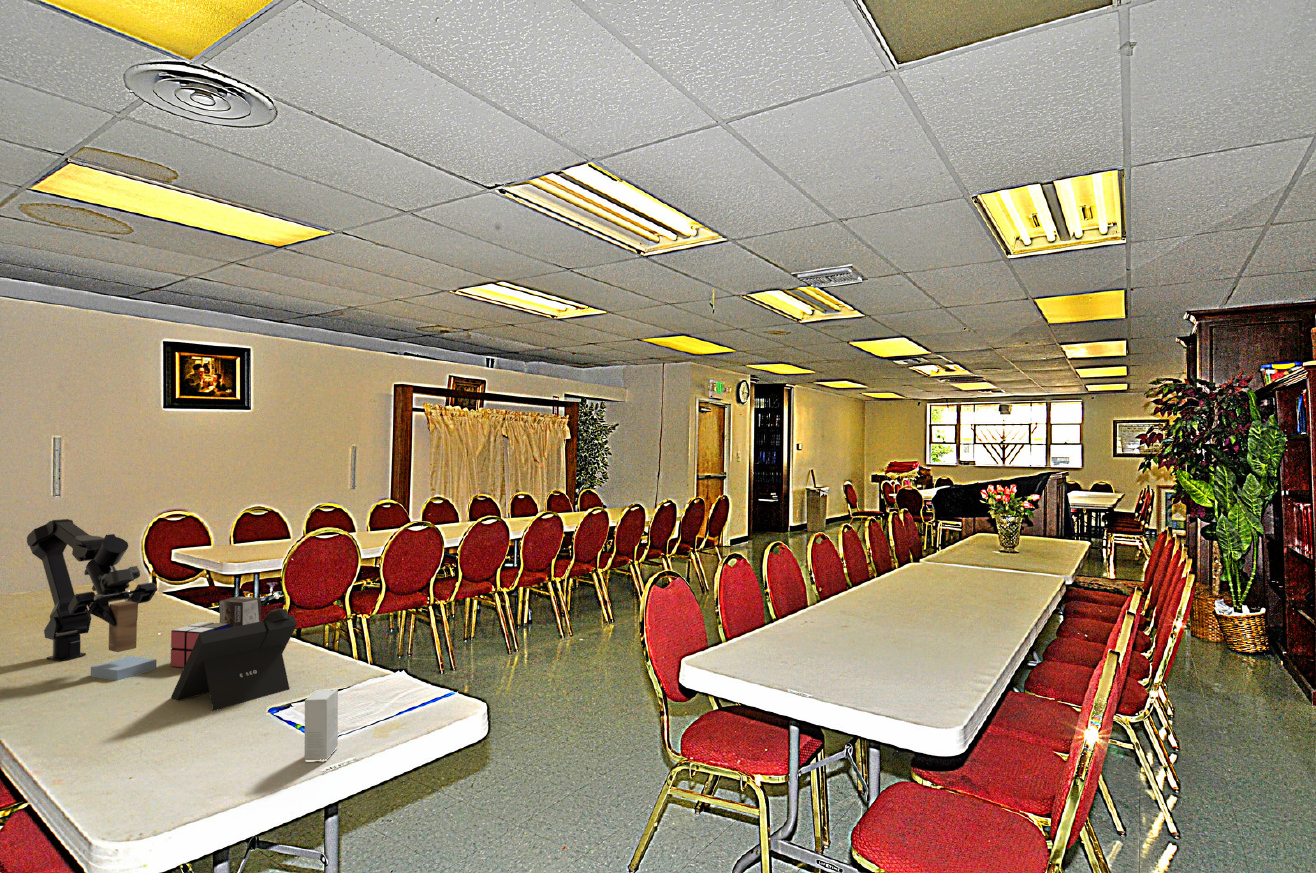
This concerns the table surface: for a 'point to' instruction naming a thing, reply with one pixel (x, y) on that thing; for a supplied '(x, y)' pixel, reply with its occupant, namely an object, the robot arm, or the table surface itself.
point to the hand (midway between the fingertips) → (125, 622)
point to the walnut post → (123, 626)
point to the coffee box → (240, 610)
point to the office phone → (238, 662)
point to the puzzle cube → (189, 640)
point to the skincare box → (321, 724)
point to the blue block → (123, 668)
